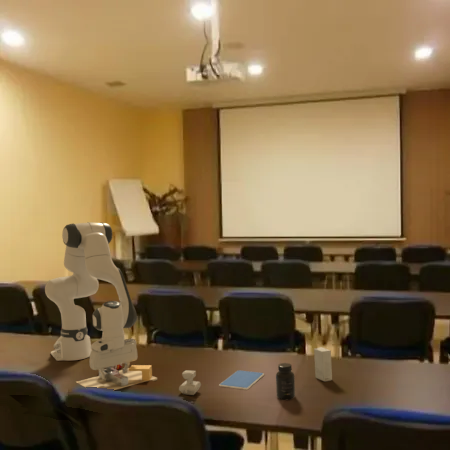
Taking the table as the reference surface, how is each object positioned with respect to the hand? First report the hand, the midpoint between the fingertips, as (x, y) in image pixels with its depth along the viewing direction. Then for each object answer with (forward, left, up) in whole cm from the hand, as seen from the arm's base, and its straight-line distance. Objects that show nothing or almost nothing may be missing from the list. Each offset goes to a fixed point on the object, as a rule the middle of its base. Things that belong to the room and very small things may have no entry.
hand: (114, 375), depth 221 cm
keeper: (+4, +9, -3) cm, 11 cm away
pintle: (-5, 0, -3) cm, 6 cm away
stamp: (+31, +15, -3) cm, 35 cm away
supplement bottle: (+59, +38, -3) cm, 70 cm away
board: (-1, +1, -3) cm, 3 cm away
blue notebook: (+34, +39, -4) cm, 52 cm away
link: (0, 0, -2) cm, 2 cm away
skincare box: (+56, +63, -3) cm, 84 cm away
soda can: (-17, +9, -3) cm, 20 cm away
